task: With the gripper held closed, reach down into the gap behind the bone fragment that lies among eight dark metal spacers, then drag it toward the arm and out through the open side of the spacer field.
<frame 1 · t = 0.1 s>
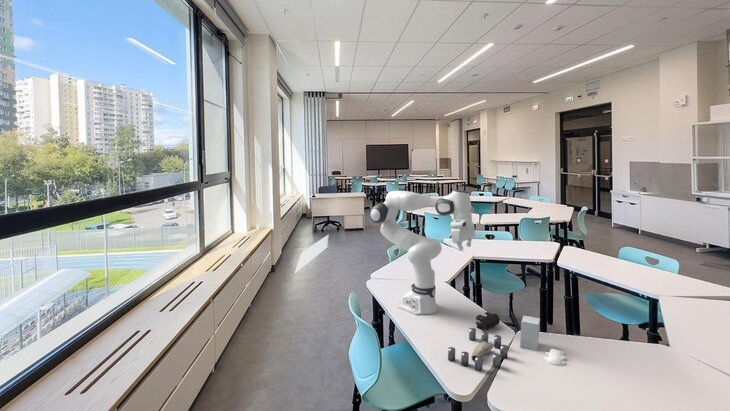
hand: (465, 248, 195), 39 cm above the table, tool pointing down, fingers open, 8 cm apart
supplement box: (529, 346, 175), on the table
spacer field: (481, 355, 167), on the table
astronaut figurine: (555, 359, 164), on the table
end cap: (487, 328, 192), on the table
bone fragment: (481, 356, 167), on the table
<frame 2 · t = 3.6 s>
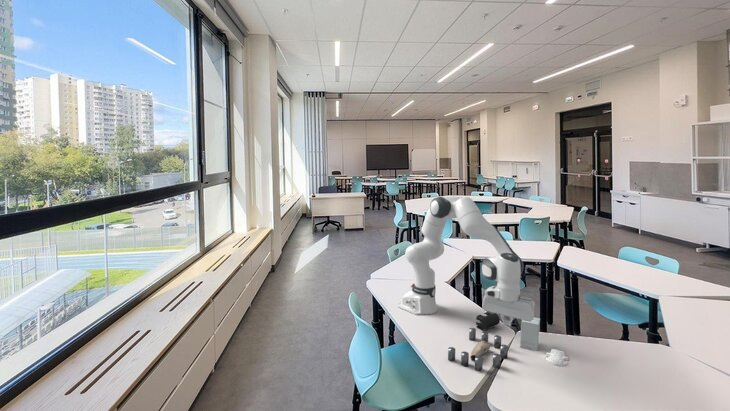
hand: (507, 325, 158), 17 cm above the table, tool pointing down, fingers closed
nothing on the table moved.
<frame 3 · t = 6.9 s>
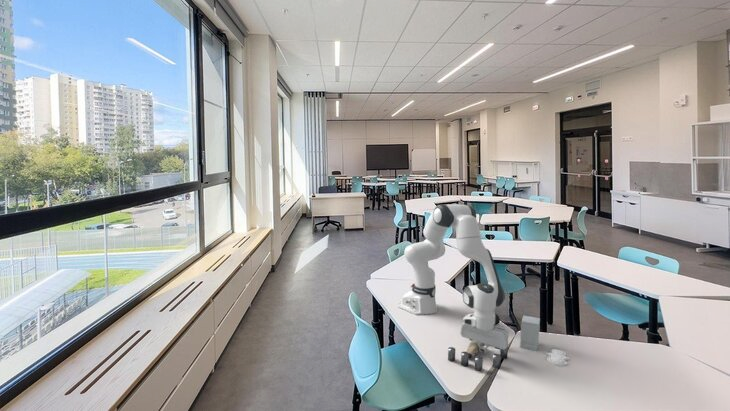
hand: (483, 351, 167), 2 cm above the table, tool pointing down, fingers closed
bone fragment: (474, 353, 169), on the table, touching gripper
everything else where it was.
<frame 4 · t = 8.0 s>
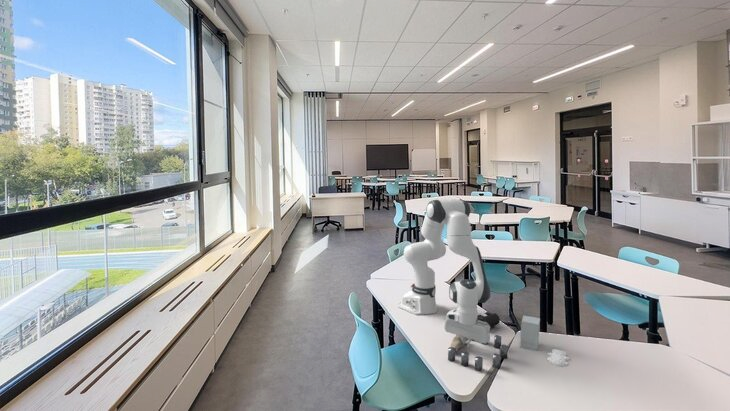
hand: (466, 345, 171), 2 cm above the table, tool pointing down, fingers closed
bone fragment: (458, 348, 174), on the table, touching gripper
everything else where it was.
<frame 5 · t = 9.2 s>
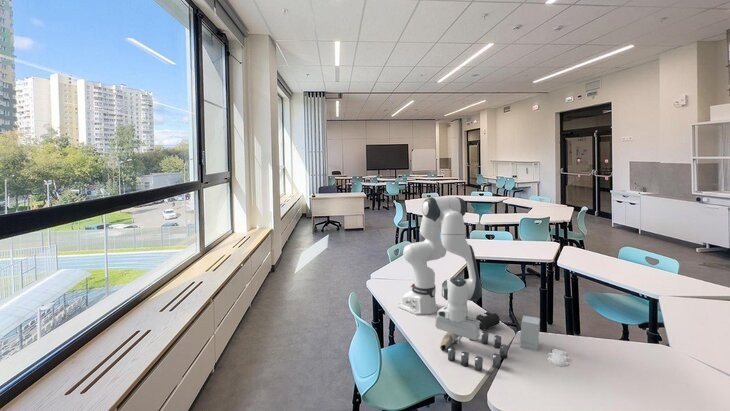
hand: (456, 342, 174), 2 cm above the table, tool pointing down, fingers closed
bone fragment: (449, 345, 177), on the table, touching gripper
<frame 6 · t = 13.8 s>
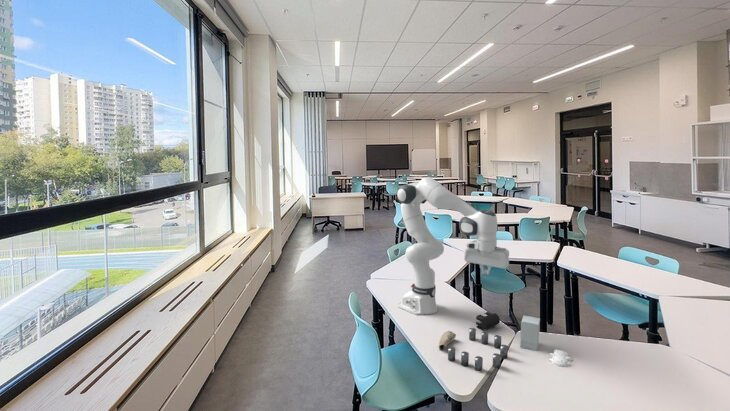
hand: (485, 274, 179), 31 cm above the table, tool pointing down, fingers closed
bone fragment: (446, 345, 177), on the table
at the end: bone fragment inside the target area (5.1 cm from its centre), on the table; bone fragment moved 16.4 cm from its start; bone fragment touching table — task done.
